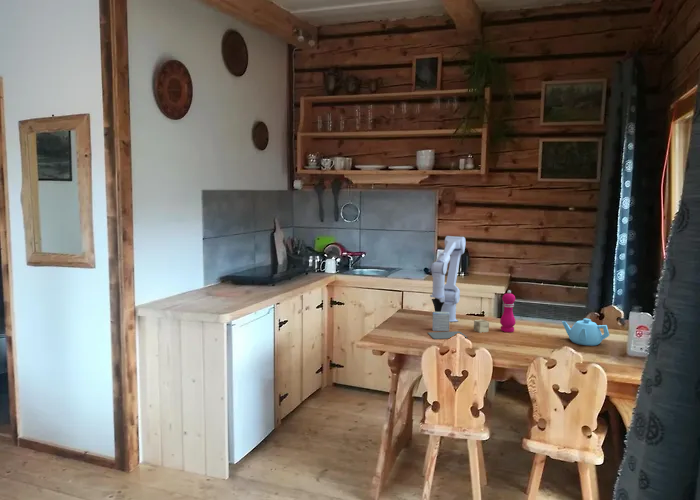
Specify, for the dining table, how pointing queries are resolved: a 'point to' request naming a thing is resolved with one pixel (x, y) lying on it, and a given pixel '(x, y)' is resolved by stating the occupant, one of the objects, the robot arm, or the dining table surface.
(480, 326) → the beech block
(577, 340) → the teapot
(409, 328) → the dining table surface
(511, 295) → the pepper mill
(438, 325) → the medicine box
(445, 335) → the mat
